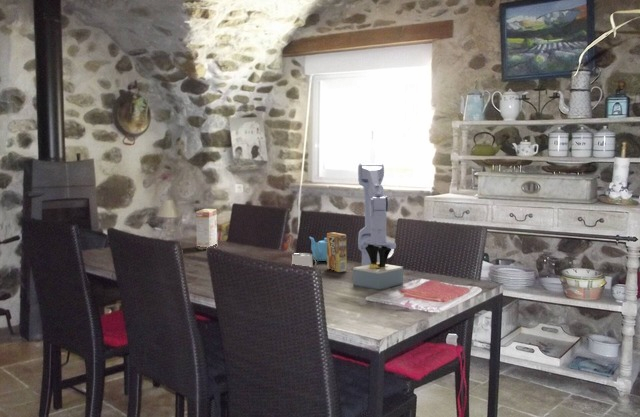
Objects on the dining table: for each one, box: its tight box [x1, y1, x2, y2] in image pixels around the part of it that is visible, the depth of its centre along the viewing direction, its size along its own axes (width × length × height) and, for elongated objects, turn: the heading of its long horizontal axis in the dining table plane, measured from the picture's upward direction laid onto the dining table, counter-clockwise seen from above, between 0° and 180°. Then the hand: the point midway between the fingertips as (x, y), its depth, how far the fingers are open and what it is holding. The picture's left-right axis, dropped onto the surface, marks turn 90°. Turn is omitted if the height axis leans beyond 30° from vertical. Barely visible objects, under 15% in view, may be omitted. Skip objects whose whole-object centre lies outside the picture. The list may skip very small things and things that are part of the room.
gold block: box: [369, 262, 384, 269], centre depth 225 cm, size 5×3×5 cm, turn 136°
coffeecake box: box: [195, 208, 218, 248], centre depth 313 cm, size 15×7×20 cm, turn 174°
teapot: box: [308, 236, 327, 263], centre depth 277 cm, size 15×15×10 cm
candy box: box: [326, 231, 348, 273], centre depth 254 cm, size 9×4×15 cm, turn 33°
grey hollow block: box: [352, 263, 404, 291], centre depth 226 cm, size 14×12×6 cm
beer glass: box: [291, 252, 313, 267], centre depth 203 cm, size 7×7×15 cm
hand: (378, 266), depth 226 cm, fingers open, 3 cm apart
